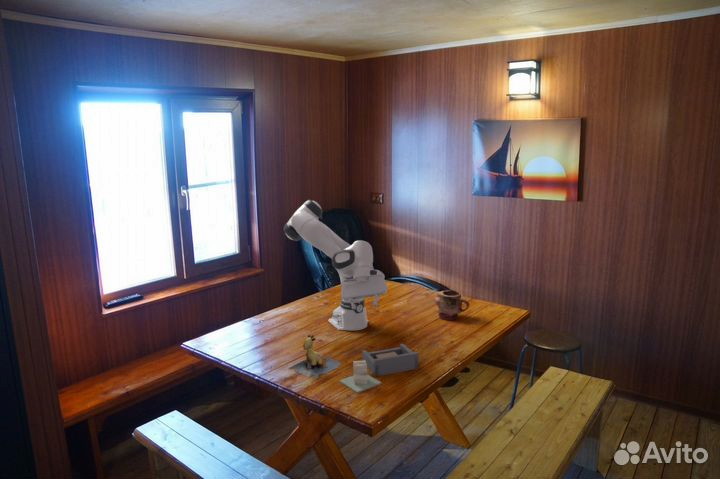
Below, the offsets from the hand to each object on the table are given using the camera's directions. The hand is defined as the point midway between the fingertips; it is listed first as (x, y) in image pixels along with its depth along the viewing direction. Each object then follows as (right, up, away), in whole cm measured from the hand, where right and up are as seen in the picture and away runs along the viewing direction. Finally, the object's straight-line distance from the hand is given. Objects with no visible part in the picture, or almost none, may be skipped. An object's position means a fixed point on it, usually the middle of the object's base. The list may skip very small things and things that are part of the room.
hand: (364, 307), depth 221 cm
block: (-2, -29, -8) cm, 30 cm away
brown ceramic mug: (+47, -14, +61) cm, 78 cm away
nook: (+11, -26, +9) cm, 29 cm away
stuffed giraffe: (-21, -27, +8) cm, 35 cm away
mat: (-2, -29, -8) cm, 30 cm away
